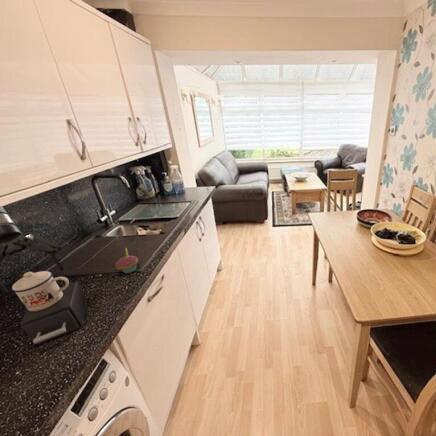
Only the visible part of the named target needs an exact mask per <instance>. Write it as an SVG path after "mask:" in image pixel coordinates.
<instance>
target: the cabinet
mask: <svg viewBox="0 0 436 436" xmlns="http://www.w3.org/2000/svg"><path fill="white" fill-rule="evenodd" d="M65 285H66V284H65ZM65 285H61V286H59V288H62V287H64V286H65ZM62 293H63V296H62V298H61V299H60V300H59V301H58V302H56V303H55V304H53V305H52V306H50V307H48V308H45V309H42V310H39V311H29V310H28V309H27V308H26V311H25V313H24V315H23V316H22V318H21V320H20V322H19V324H20V326H21V327H22V328H23V327H24V325H25V324H28V323H30V322H32V321H35V320H38V319H40V318H43V317H46V316H49V315H52V314H54V313H57V312H60V311H63V310H65V309H69V310H70V312H71V313H72V315H73V317H74V318H75V320H76V321H77V323H78V324H79V328H80V327H83V324H84V318H85V316H86V315H85V314H86V309H87V306H88V305H87V304H88V298H87V297H86V294H85V293H84V291H83V289H82V288H81V286H80V284H79V283H78V281H74V282H71V283H70V282H69V284H68V287H67V288H66V289H64V290H62ZM31 339H32V338H31ZM32 341H33V339H32Z"/></svg>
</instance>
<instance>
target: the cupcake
mask: <svg viewBox="0 0 436 436" xmlns="http://www.w3.org/2000/svg"><path fill="white" fill-rule="evenodd" d="M124 251H125V256H122V257H121V258H119V259H118V260H117V261H116V262H115V264H114V267H115V269H116V270H118V271H121V272H122V273H124V274H130V273H132V272H134V271H136V270H137V264H138V262H139V259H138V256H136V255H130V254H129V251H128V248H127V247H125V248H124Z"/></svg>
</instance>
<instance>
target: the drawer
mask: <svg viewBox="0 0 436 436" xmlns="http://www.w3.org/2000/svg"><path fill="white" fill-rule="evenodd" d="M22 328H23V330H24V331H25V332H26V334H28V336H29V337H30V338H31V339H33V340H32V342H33V344H34V345H36V346H38V345H41V344H44V343H46V342H49V341H51V340H53V339H56V338H58V337H61V336H64V335H66V334H69V333H71V332H73V331H76V330H78V329H80V327H79V324H78V323H77V321H76V320H75V318H74V317H73V315H72V313H71V312H70V310H69V309H65V310H63V311H60V312H57V313H54V314H52V315H49V316H46V317H43V318H40V319H38V320H35V321H32V322H30V323H28V324H25V325H24V327H22Z"/></svg>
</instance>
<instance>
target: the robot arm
mask: <svg viewBox="0 0 436 436" xmlns="http://www.w3.org/2000/svg"><path fill="white" fill-rule="evenodd" d="M29 240H32V241H36V242H38V243H40V244H42V245H39V244H36V243H31V242H29ZM44 245H45V246H44ZM62 249H63V248H62V245H61V244H59V243H57V242H55V241H53V240H50V239H48V238H46V237H43V236H41V235H40V234H39V233H37V231H31V233H30V234H28V235H24V234H23V233H22V232H21V230H20V229H19V228H18V226H17V225H16V223H15V222H14V220H13V219H12V217H10V215H9V214H8V212H7V211H6V210H5V208H4V207H3V206H2V207H0V265H1V264H2V263H3V261H4V260H5V259H6V257H7V256H12V255H14V254H17V253H21V252H23V250H28V251H35V252H39V253H45V254H49V257H50V258H51V259H52V261H53V262H54V263H55V265H56V266H57V267H58V269H59V270H60V271H61V272H62V271H64V266H63V265H62V263H61V262H60V261H62V256H61V255H60V254H59V252H60V251H62ZM0 290H1V292H2V293H3V294H4V296H8V295H9V294H10V292H9V291H8V290H7V288H6V287H5V285H4V284H3V283H2V281H1V280H0Z"/></svg>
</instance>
